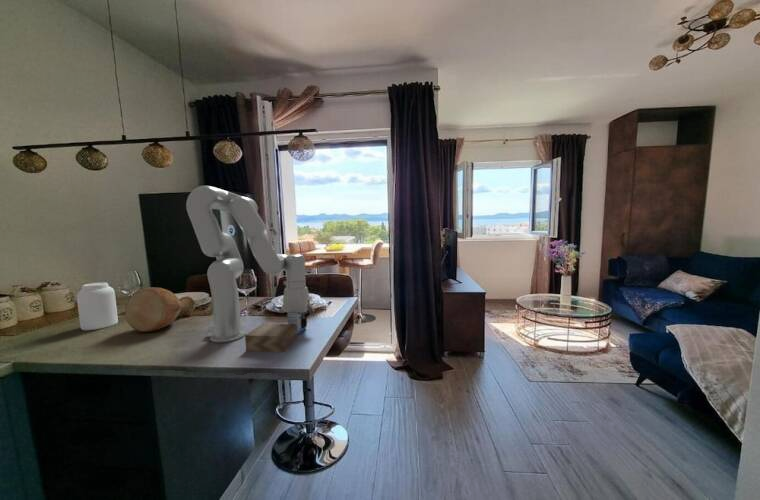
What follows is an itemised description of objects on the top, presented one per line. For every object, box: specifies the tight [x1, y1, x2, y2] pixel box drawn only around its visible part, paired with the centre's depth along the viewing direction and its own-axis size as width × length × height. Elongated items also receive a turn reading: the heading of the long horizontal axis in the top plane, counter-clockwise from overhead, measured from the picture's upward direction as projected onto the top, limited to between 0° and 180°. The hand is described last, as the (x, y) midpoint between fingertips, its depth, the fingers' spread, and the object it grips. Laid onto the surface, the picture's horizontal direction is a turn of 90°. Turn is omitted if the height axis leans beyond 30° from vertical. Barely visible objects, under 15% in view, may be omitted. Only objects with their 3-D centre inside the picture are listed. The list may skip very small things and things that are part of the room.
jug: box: [124, 286, 197, 333], centre depth 132 cm, size 20×19×30 cm
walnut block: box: [244, 323, 298, 353], centre depth 107 cm, size 14×12×6 cm
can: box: [76, 281, 119, 331], centre depth 132 cm, size 12×12×20 cm
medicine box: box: [287, 312, 308, 335], centre depth 119 cm, size 8×4×9 cm, turn 169°
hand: (297, 326), depth 119 cm, fingers closed on medicine box, 4 cm apart
